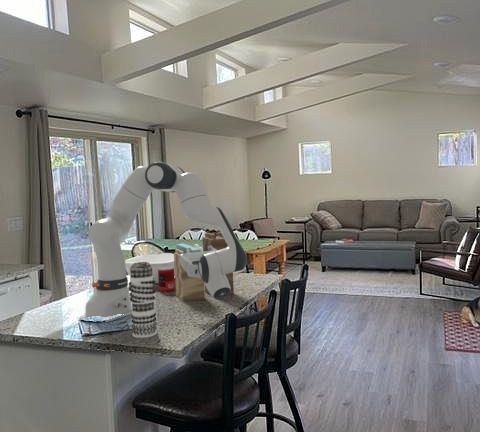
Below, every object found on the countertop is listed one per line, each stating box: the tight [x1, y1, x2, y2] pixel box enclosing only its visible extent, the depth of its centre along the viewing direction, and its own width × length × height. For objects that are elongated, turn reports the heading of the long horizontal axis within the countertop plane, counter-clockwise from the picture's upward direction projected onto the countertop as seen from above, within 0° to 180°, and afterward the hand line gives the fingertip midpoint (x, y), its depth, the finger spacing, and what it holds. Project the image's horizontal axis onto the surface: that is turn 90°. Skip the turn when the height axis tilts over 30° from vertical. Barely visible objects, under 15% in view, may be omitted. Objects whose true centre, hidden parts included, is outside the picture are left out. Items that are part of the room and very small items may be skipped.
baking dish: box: [125, 252, 175, 285], centre depth 269 cm, size 34×28×13 cm
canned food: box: [158, 266, 176, 293], centre depth 246 cm, size 8×8×11 cm
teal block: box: [175, 243, 201, 253], centre depth 229 cm, size 26×4×3 cm, turn 23°
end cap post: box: [201, 231, 235, 296], centre depth 235 cm, size 12×10×28 cm
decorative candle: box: [128, 262, 158, 339], centre depth 176 cm, size 9×9×25 cm
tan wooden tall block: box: [173, 248, 206, 302], centre depth 230 cm, size 12×10×22 cm
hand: (199, 248), depth 214 cm, fingers open, 8 cm apart
